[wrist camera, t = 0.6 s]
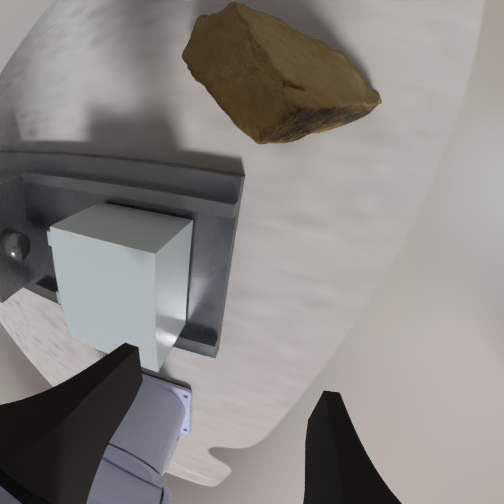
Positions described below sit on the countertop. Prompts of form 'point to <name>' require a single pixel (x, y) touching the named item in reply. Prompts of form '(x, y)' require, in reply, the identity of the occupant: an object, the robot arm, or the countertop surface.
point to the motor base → (128, 195)
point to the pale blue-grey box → (123, 278)
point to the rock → (274, 76)
